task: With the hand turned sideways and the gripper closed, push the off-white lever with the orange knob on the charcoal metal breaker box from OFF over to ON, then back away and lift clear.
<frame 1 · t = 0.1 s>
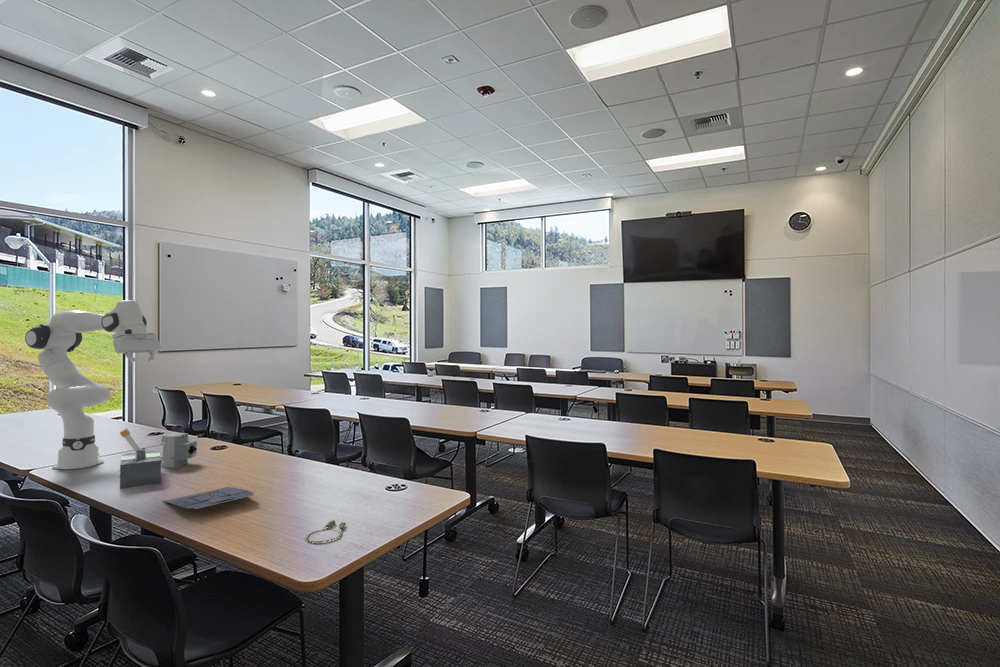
hand: (142, 361, 228), 52 cm above the table, fingers open, 8 cm apart
dark blue panel: (211, 503, 190), on the table
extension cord: (328, 536, 163), on the table
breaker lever: (132, 443, 215), point 17 cm above the table, hinge at -30.0°
circuit breaker: (180, 465, 241), on the table
breaker box: (140, 479, 217), on the table
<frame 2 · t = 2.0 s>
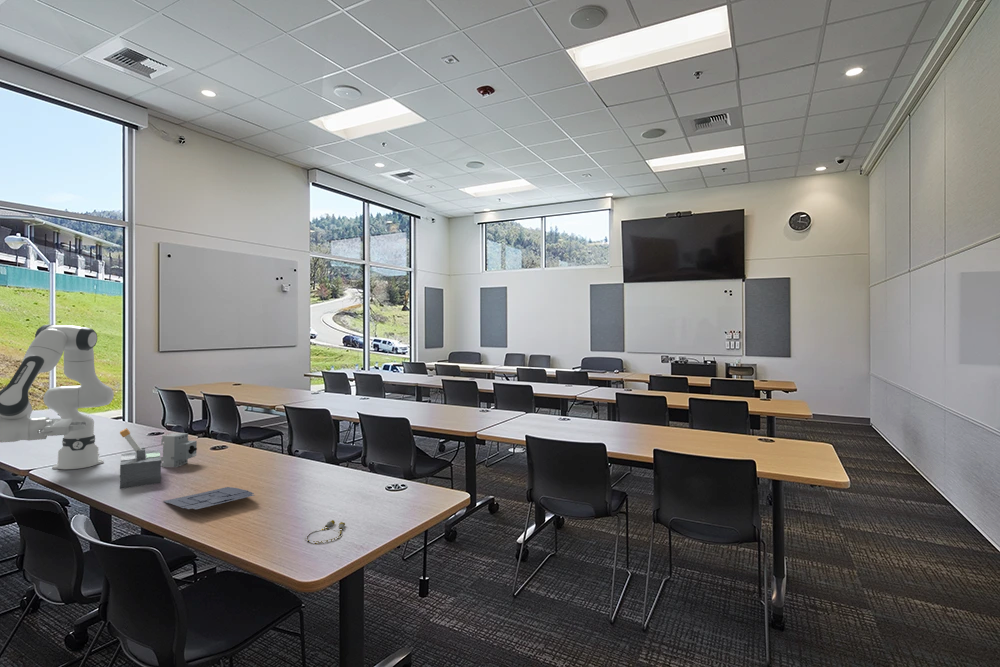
hand: (85, 425, 205), 26 cm above the table, fingers open, 6 cm apart
nothing on the table moved.
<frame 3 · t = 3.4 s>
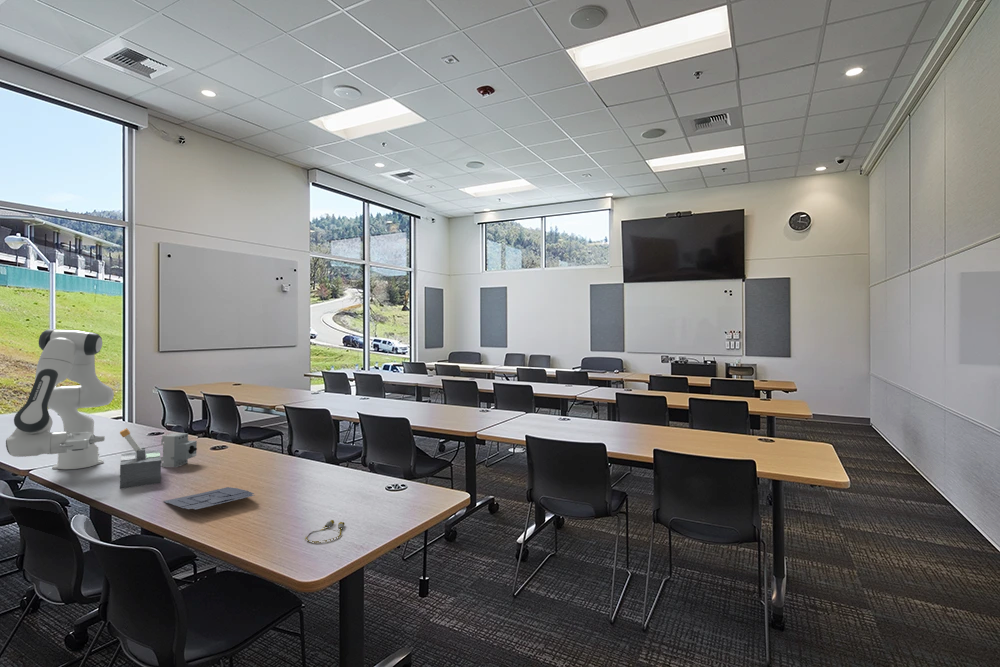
hand: (104, 438, 209), 20 cm above the table, fingers closed
nothing on the table moved.
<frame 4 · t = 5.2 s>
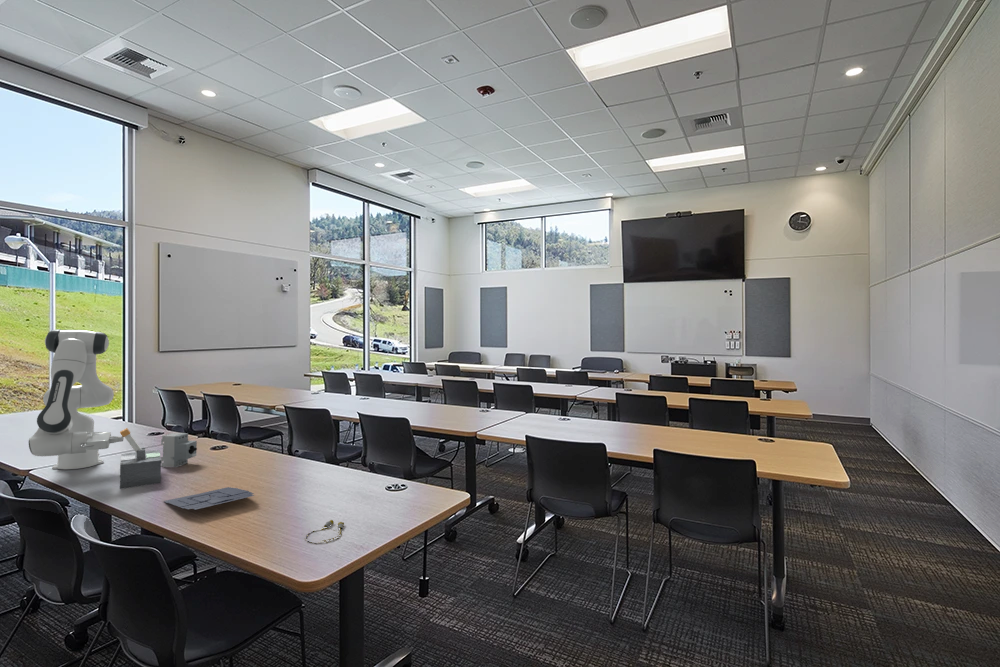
hand: (123, 438, 213), 19 cm above the table, fingers closed, pressing on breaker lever
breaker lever: (133, 443, 215), point 17 cm above the table, hinge at -29.4°, touching gripper
everything else where it was.
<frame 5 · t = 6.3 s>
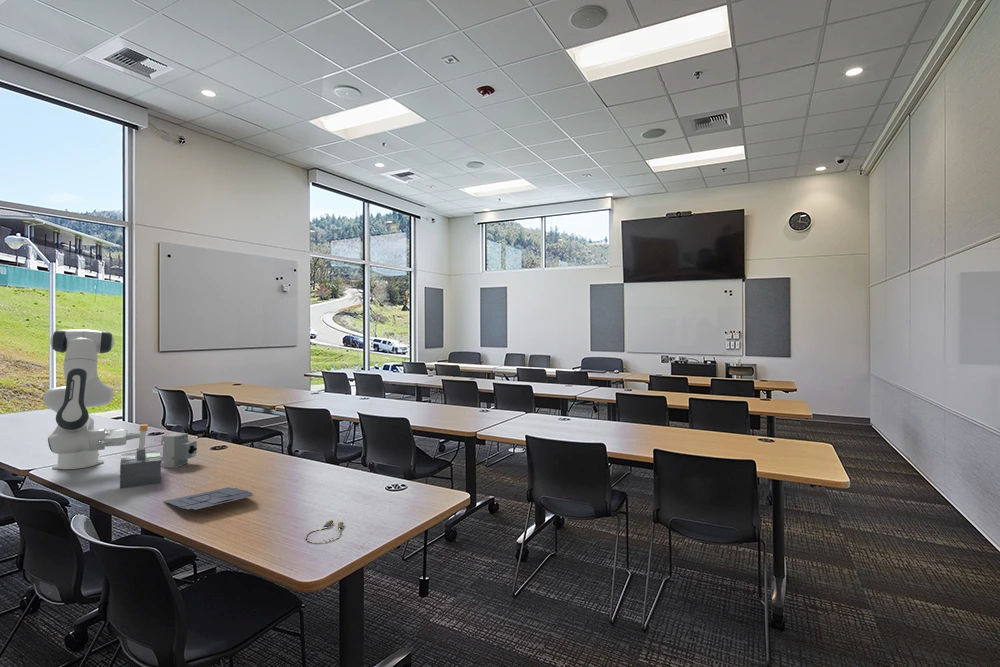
hand: (139, 435, 216), 20 cm above the table, fingers closed, pressing on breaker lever
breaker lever: (142, 440, 217), point 17 cm above the table, hinge at 4.0°, touching gripper
everything else where it was.
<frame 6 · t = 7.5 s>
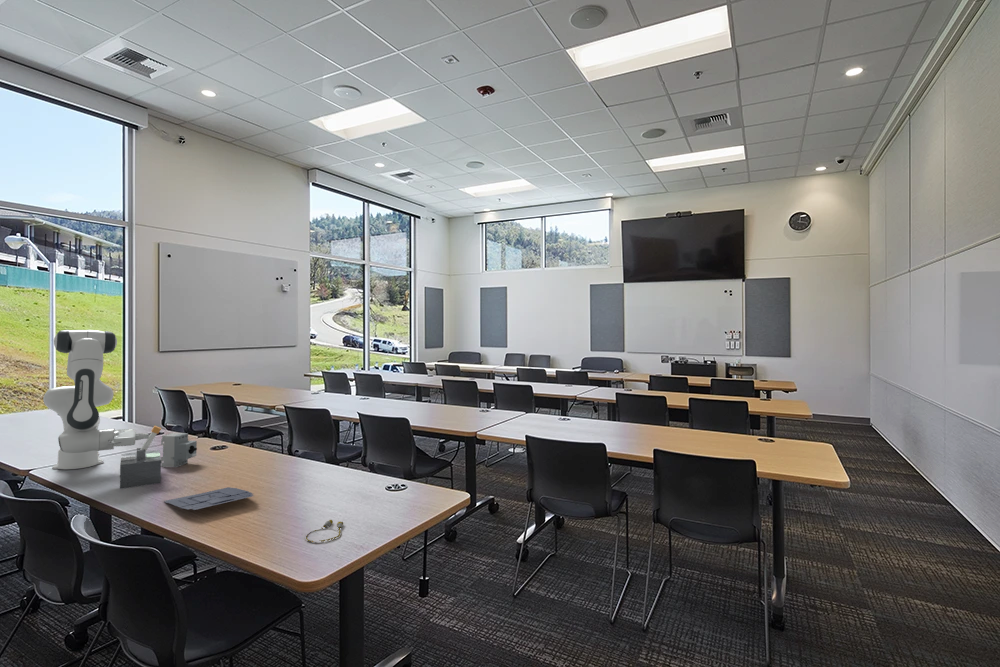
hand: (148, 435, 218), 19 cm above the table, fingers closed, pressing on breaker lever
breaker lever: (148, 441, 219), point 17 cm above the table, hinge at 28.4°, touching gripper
everything else where it was.
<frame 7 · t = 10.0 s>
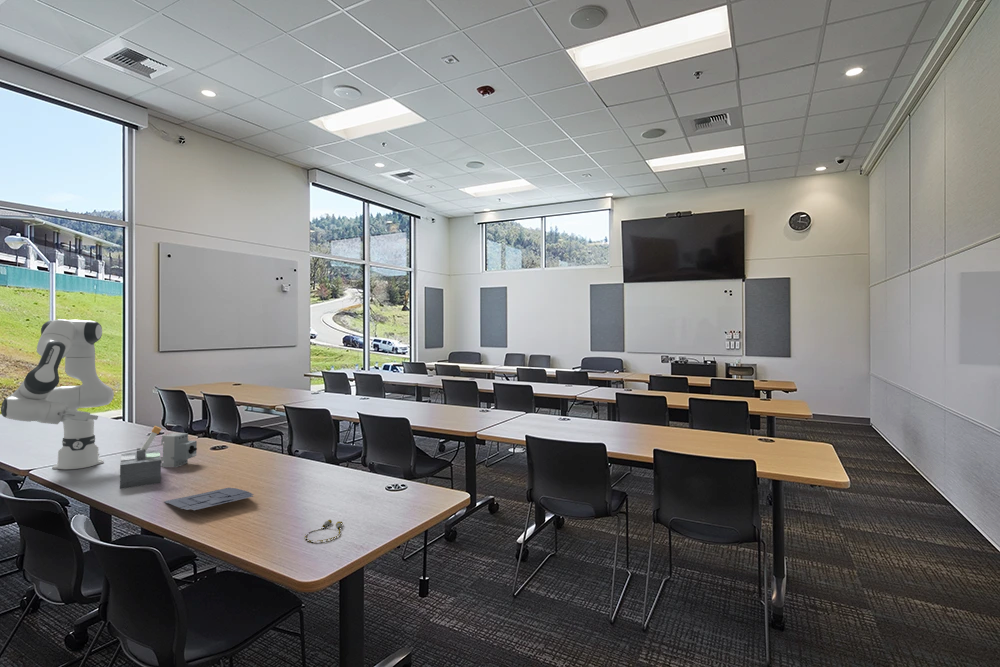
hand: (96, 417, 211), 28 cm above the table, fingers closed
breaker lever: (148, 441, 219), point 17 cm above the table, hinge at 28.9°
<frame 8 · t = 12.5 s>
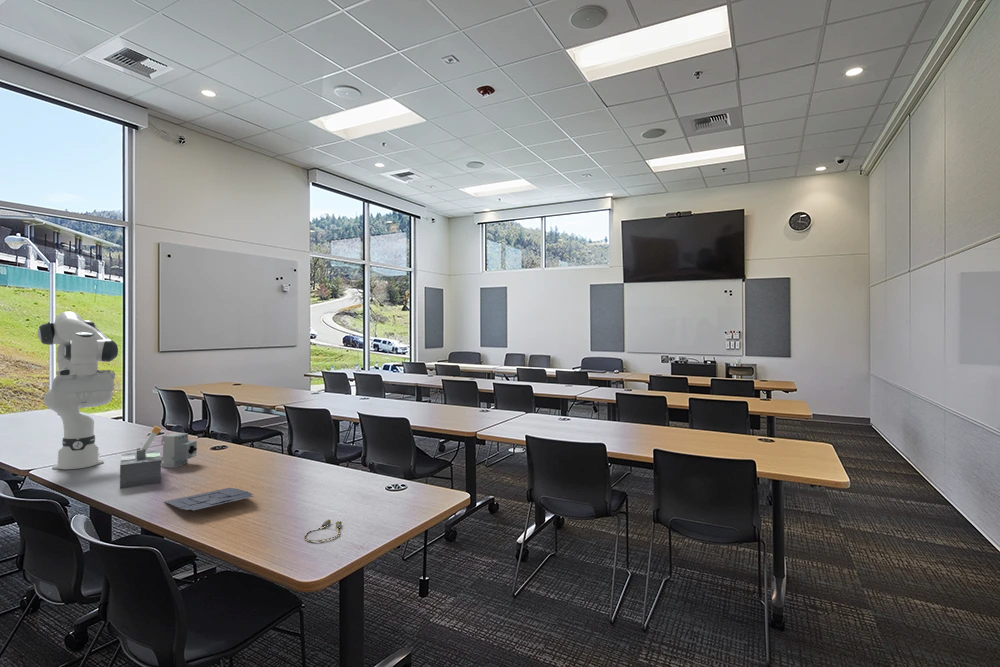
hand: (83, 402, 208), 35 cm above the table, fingers closed
at the end: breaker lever at +29° (first picture: -30°); circuit breaker moved 0.2 cm from its start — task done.
